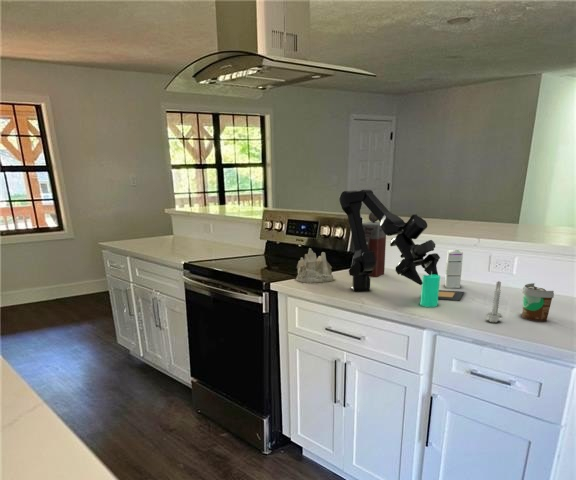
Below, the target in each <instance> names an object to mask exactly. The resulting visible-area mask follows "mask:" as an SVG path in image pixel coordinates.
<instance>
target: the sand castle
mask: <svg viewBox="0 0 576 480" xmlns="http://www.w3.org/2000/svg"><path fill="white" fill-rule="evenodd" d="M307 251H308V252H307V253H305V254H304V257H300V260H298V262H297V265H296V269H297V275H296V281H298V282H301V283H303V284H315V283H316V284H317V283H318V284H319V283H328V282H332V281H334V280H335V279H334V275H333V271H332V268H333V267H332V266H331V264H330V263H329V262H328V260H327V256H326V255H327V254H326V252H324V251H322V252H321V253H320V255H318V256H317V254H316V252H314V251H313V250H312V248H310V247H309V248H308V250H307Z"/></svg>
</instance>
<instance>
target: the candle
mask: <svg viewBox="0 0 576 480" xmlns="http://www.w3.org/2000/svg"><path fill="white" fill-rule="evenodd" d="M421 280H422V282H423V284H422V285H421V291H420V306H422V307H426V308H435V307H437V306H438V304H439V299H438V294H439V290H440V284H441V283H440V282H441V281H440V280H441V275H439V274H438V275H433V274H432V272H431V275H429V274H424V275H422V279H421Z"/></svg>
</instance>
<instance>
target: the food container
mask: <svg viewBox="0 0 576 480" xmlns="http://www.w3.org/2000/svg"><path fill="white" fill-rule="evenodd" d="M521 293H522V294H523V300H522V314H521V317H522V318H523V319H525V320H528V321H532V322H547V321H548V317H549V313H550V307H551V304H552V301H553V298H555V291H554V290H546V289H545V288H543V287H537V286H535V283H533V282H532V283H526V284H525V285H524V286H523V288H522V290H521Z"/></svg>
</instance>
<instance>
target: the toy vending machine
mask: <svg viewBox="0 0 576 480" xmlns="http://www.w3.org/2000/svg"><path fill="white" fill-rule="evenodd" d="M368 220H369V221H366V222H362V225H363V229H364V234H365V238H366V243H367V247H368V249H369V250H370V251H374V254H375V259H376V261H375V263H376V265H375V267H374V270H373V273H372V274H369V278H370V277H371V278H379V277H381V276H383V275H385V267H386V248H387V247H386V245H387V235H386V234H385V233H384V232H383V230H382V228H381V226H380V221H379V220H378V219H377V218H376V216H375V215H374V214H373V213H372V212H371V211H370V213H369V214H368Z"/></svg>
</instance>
